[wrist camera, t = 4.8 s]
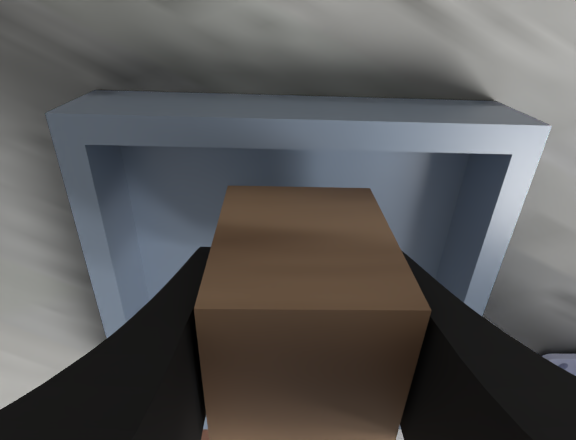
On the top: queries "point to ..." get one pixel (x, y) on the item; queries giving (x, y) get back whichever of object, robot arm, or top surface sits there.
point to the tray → (288, 177)
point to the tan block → (306, 317)
